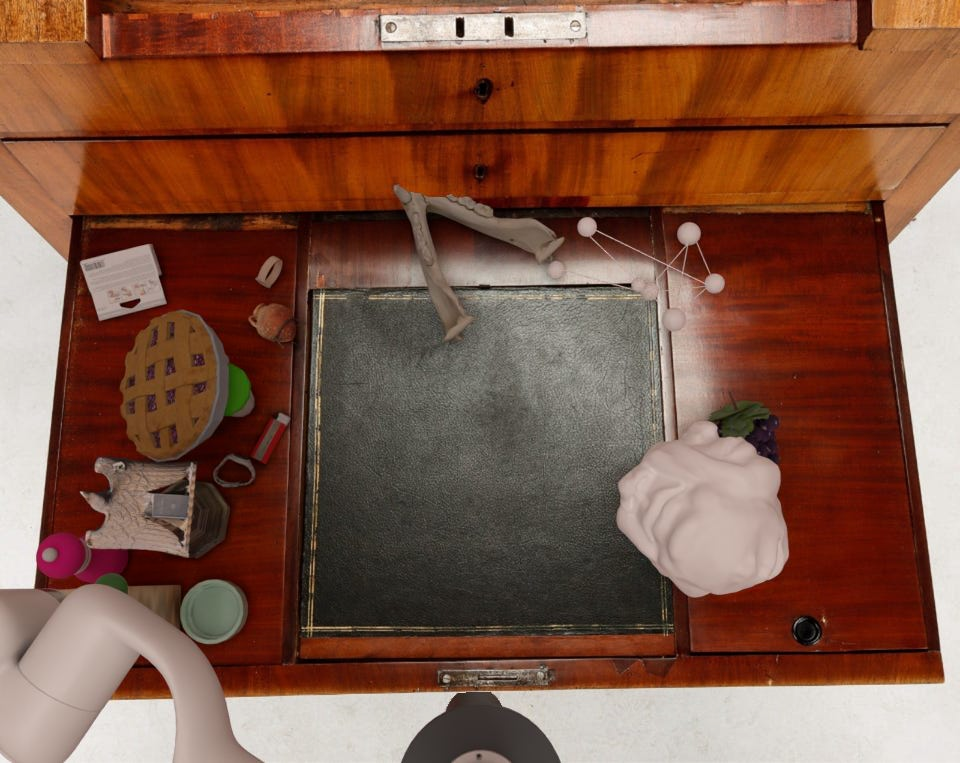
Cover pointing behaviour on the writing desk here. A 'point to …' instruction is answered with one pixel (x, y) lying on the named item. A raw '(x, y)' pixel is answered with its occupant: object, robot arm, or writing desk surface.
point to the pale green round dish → (214, 611)
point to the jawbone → (481, 219)
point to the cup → (238, 393)
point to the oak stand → (157, 600)
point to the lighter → (270, 438)
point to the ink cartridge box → (124, 281)
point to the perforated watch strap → (265, 270)
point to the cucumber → (114, 582)
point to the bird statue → (157, 508)
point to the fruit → (749, 426)
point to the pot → (275, 323)
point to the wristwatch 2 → (239, 460)
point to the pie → (174, 386)
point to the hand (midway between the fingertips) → (114, 622)
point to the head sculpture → (706, 512)
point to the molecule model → (649, 290)
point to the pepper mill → (78, 558)
